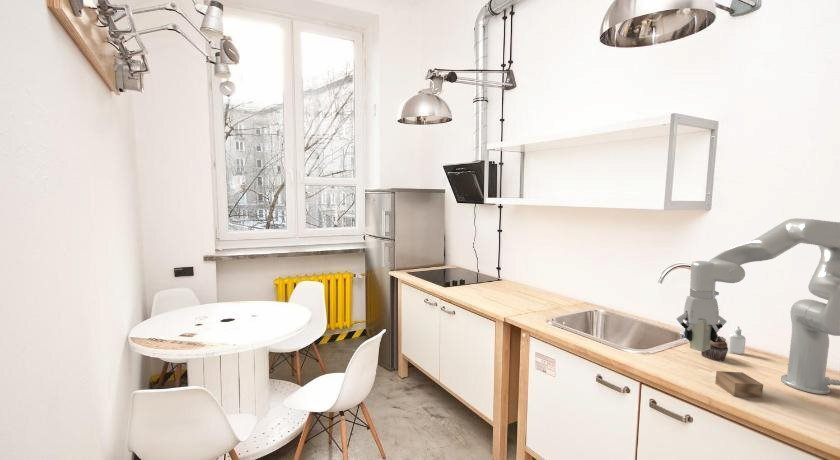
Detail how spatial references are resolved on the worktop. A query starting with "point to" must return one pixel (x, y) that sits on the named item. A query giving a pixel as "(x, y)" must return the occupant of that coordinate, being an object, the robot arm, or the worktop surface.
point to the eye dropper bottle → (736, 342)
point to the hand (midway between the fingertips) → (700, 340)
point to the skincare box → (701, 336)
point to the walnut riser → (739, 384)
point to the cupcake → (716, 350)
